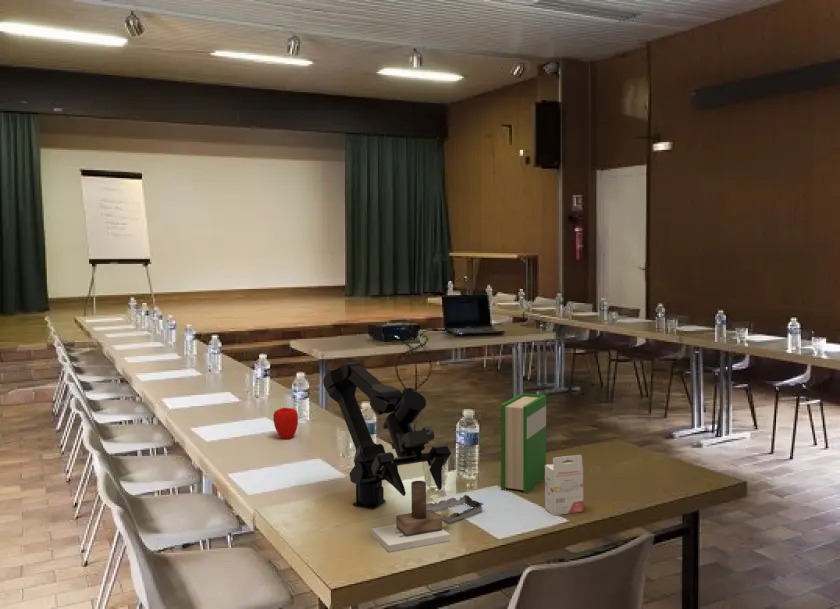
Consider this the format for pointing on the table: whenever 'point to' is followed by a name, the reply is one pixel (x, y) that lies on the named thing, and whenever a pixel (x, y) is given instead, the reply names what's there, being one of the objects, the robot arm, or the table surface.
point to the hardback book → (523, 441)
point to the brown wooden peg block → (418, 514)
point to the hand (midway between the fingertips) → (422, 492)
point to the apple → (286, 422)
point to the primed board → (406, 538)
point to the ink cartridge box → (564, 485)
